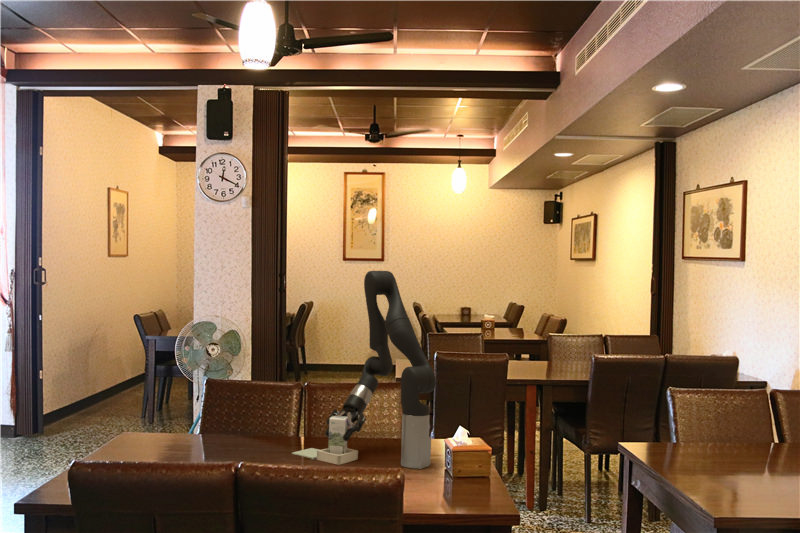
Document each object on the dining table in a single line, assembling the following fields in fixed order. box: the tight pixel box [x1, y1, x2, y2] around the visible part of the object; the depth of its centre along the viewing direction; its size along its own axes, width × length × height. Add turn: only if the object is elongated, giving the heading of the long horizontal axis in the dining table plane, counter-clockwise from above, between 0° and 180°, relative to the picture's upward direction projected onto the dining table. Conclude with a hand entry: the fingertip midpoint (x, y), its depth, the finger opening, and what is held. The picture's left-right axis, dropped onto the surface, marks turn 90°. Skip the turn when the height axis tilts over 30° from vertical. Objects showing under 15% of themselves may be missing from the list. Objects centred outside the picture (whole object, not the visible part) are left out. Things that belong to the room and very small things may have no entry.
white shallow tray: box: [291, 447, 359, 466], centre depth 215 cm, size 22×13×3 cm, turn 55°
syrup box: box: [327, 416, 349, 455], centre depth 212 cm, size 6×6×14 cm
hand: (335, 437), depth 211 cm, fingers closed on syrup box, 7 cm apart
